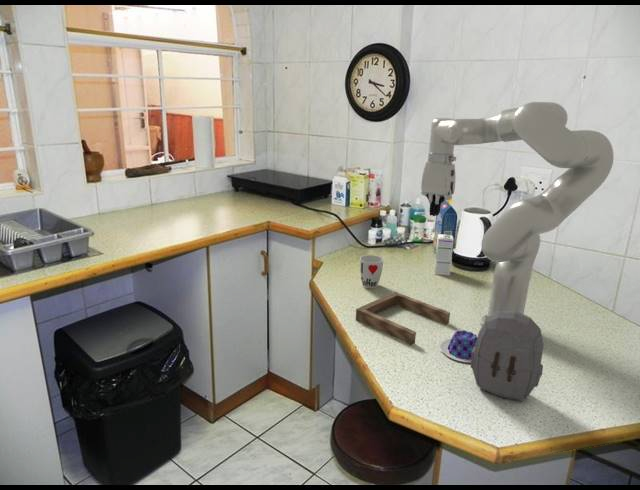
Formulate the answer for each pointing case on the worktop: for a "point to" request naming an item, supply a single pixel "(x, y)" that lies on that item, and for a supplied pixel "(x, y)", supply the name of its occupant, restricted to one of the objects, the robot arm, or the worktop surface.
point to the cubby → (370, 318)
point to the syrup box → (443, 254)
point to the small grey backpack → (508, 355)
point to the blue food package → (445, 222)
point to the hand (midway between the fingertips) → (434, 215)
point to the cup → (370, 270)
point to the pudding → (460, 345)
